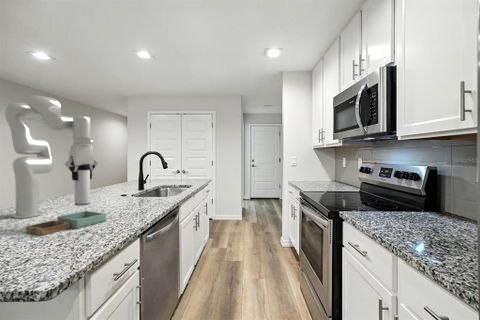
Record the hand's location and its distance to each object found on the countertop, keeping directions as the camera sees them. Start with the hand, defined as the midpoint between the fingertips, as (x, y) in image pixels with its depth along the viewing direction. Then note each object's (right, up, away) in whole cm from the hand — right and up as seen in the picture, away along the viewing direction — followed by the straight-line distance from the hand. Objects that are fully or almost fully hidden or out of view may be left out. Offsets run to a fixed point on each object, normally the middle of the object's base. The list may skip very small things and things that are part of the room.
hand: (82, 179), depth 125 cm
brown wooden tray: (-8, -21, -11) cm, 26 cm away
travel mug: (0, -12, 0) cm, 12 cm away
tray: (0, -21, +1) cm, 21 cm away
